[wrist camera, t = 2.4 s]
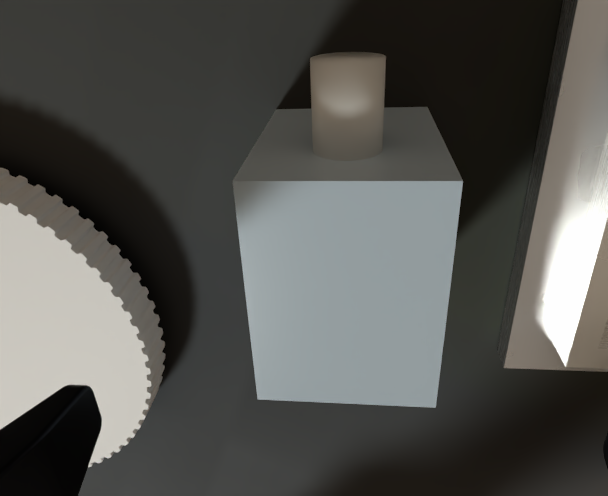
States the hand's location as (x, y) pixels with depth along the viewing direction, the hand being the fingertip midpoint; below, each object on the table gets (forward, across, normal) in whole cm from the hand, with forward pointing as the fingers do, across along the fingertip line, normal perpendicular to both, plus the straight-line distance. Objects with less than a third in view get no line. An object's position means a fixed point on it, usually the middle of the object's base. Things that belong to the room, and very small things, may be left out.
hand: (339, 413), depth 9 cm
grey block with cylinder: (+9, 0, 0) cm, 9 cm away
